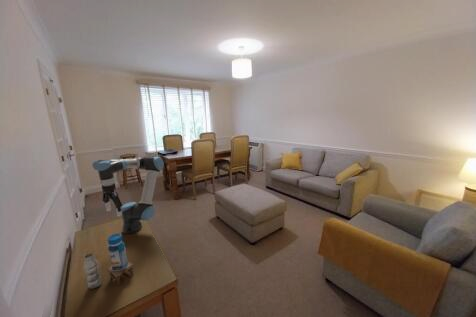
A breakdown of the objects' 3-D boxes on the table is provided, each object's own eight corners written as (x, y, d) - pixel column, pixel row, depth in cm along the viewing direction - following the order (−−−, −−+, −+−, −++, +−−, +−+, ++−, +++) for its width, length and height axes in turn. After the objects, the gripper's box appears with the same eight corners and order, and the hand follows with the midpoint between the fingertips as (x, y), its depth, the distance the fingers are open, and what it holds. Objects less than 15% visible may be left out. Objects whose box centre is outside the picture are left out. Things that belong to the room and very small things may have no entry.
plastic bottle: (94, 280, 117) (87, 251, 112) (105, 281, 116) (98, 252, 112) (85, 290, 111) (77, 259, 106) (96, 291, 110) (89, 260, 105)
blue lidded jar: (130, 266, 117) (124, 236, 113) (113, 274, 112) (107, 243, 107) (126, 259, 124) (121, 230, 119) (110, 266, 118) (104, 236, 113)
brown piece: (126, 267, 126) (124, 258, 124) (134, 274, 121) (133, 264, 119) (109, 278, 118) (107, 268, 116) (117, 286, 113) (115, 275, 111)
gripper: (92, 183, 132) (99, 211, 138) (112, 189, 120) (118, 220, 125) (104, 179, 139) (110, 206, 144) (124, 185, 126) (130, 215, 131)
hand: (114, 213), depth 135 cm, fingers open, 13 cm apart
